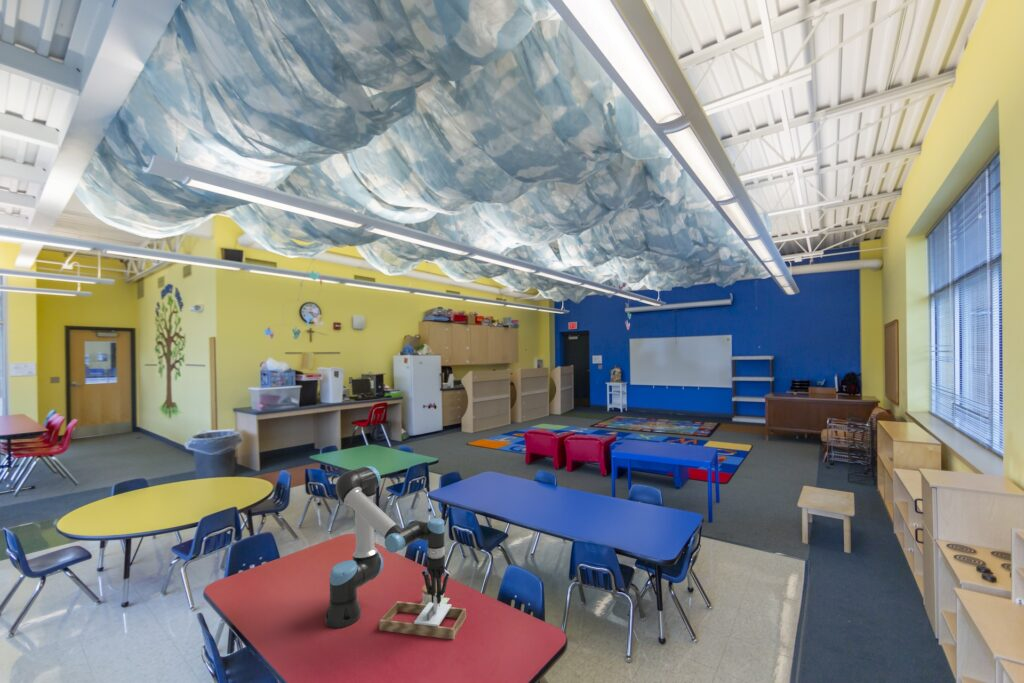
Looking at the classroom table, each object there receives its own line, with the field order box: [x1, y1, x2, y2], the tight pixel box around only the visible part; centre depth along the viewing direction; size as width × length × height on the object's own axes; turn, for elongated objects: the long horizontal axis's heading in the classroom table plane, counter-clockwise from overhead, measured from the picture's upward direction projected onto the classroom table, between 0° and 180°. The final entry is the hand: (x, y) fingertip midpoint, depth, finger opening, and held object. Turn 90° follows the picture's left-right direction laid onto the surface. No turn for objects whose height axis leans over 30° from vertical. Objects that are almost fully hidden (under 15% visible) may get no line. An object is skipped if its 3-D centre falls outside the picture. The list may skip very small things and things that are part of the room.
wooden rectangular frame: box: [379, 600, 467, 640], centre depth 192 cm, size 34×16×4 cm, turn 78°
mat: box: [419, 597, 450, 604], centre depth 208 cm, size 12×12×1 cm
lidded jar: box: [421, 581, 445, 604], centre depth 208 cm, size 11×11×9 cm
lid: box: [413, 602, 452, 627], centre depth 192 cm, size 11×16×3 cm
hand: (436, 610), depth 191 cm, fingers closed
